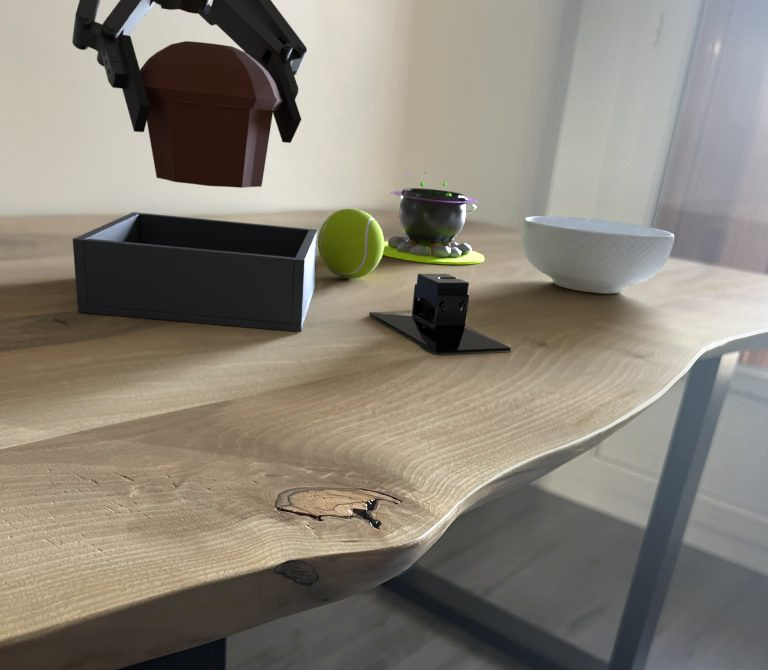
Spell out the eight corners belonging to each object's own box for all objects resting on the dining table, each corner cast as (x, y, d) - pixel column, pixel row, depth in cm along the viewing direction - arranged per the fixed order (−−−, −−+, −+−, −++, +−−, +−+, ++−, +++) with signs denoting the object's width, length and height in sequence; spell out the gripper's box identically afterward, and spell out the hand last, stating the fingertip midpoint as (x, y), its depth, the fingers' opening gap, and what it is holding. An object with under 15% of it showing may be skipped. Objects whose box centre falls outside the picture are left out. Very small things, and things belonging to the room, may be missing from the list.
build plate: (511, 353, 66) (521, 295, 64) (433, 357, 63) (441, 296, 61) (436, 314, 76) (442, 262, 74) (365, 315, 72) (369, 262, 70)
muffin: (277, 180, 74) (281, 55, 70) (283, 193, 65) (288, 49, 60) (142, 168, 72) (138, 39, 68) (128, 180, 63) (121, 30, 58)
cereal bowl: (647, 282, 103) (660, 224, 100) (672, 310, 88) (689, 242, 85) (513, 267, 104) (522, 208, 101) (516, 291, 89) (527, 223, 86)
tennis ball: (306, 278, 85) (309, 207, 82) (329, 268, 91) (333, 202, 88) (369, 287, 84) (375, 216, 81) (388, 277, 90) (394, 210, 87)
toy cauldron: (499, 256, 111) (511, 169, 107) (460, 269, 99) (473, 171, 94) (399, 239, 117) (407, 156, 112) (351, 250, 104) (358, 157, 99)
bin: (77, 312, 64) (72, 238, 62) (135, 272, 80) (132, 211, 78) (301, 332, 65) (304, 260, 63) (314, 288, 81) (317, 229, 78)
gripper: (272, -24, 78) (336, 165, 74) (0, -73, 66) (56, 149, 62) (298, -99, 72) (370, 103, 67) (3, -168, 60) (66, 71, 56)
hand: (220, 125), depth 65 cm, fingers closed on muffin, 12 cm apart
